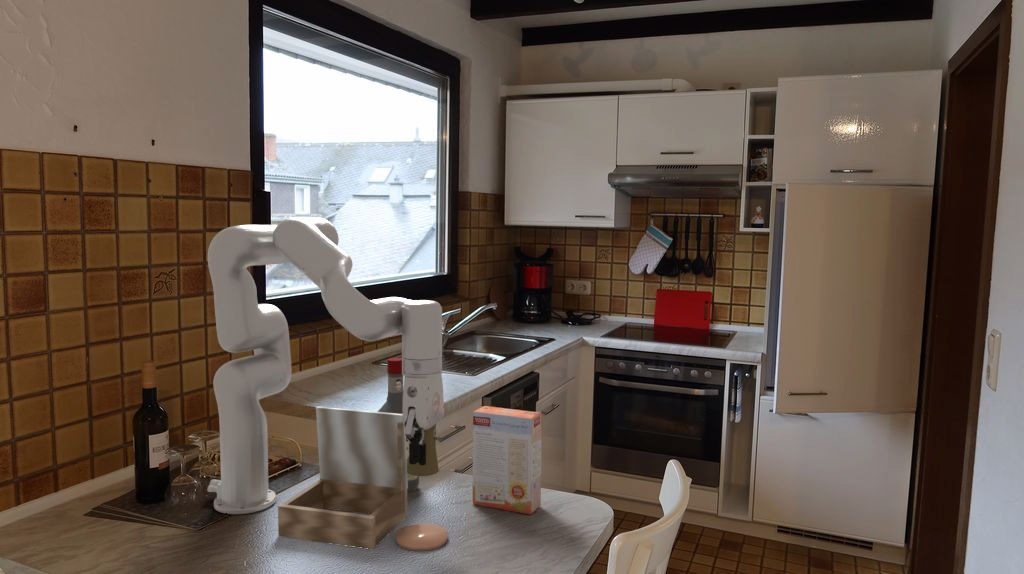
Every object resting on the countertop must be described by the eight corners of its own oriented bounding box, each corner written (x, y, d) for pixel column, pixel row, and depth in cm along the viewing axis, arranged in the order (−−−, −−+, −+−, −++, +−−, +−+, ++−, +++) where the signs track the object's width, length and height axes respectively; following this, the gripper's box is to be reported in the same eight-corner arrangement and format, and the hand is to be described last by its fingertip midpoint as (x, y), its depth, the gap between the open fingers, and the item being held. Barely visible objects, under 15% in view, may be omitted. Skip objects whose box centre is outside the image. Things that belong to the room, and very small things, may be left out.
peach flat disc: (386, 546, 137) (386, 541, 137) (408, 525, 147) (408, 520, 147) (436, 553, 135) (436, 548, 134) (455, 531, 144) (455, 526, 144)
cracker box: (541, 506, 158) (543, 411, 156) (530, 516, 152) (532, 418, 150) (484, 495, 164) (484, 403, 162) (471, 504, 158) (472, 410, 156)
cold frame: (278, 536, 141) (276, 425, 139) (322, 504, 157) (320, 404, 155) (372, 549, 136) (371, 435, 134) (407, 515, 152) (407, 412, 149)
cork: (442, 466, 142) (442, 411, 141) (433, 477, 136) (432, 419, 135) (413, 464, 143) (412, 409, 142) (402, 474, 137) (402, 417, 136)
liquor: (368, 486, 168) (368, 358, 165) (404, 478, 173) (404, 354, 171) (386, 498, 161) (386, 364, 158) (423, 490, 166) (423, 360, 163)
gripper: (423, 376, 128) (424, 477, 130) (456, 359, 145) (456, 449, 146) (384, 373, 130) (385, 472, 132) (420, 357, 147) (421, 445, 148)
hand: (422, 459), depth 139 cm, fingers closed on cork, 4 cm apart
